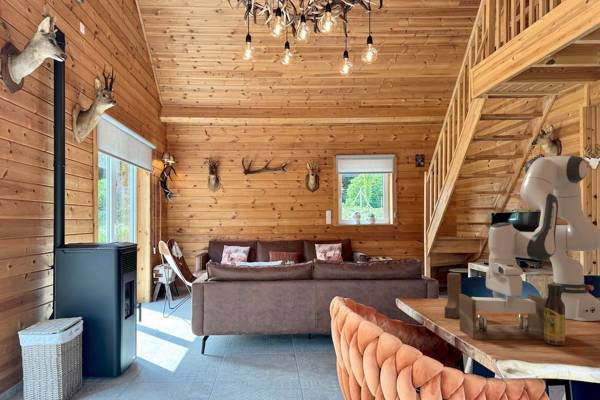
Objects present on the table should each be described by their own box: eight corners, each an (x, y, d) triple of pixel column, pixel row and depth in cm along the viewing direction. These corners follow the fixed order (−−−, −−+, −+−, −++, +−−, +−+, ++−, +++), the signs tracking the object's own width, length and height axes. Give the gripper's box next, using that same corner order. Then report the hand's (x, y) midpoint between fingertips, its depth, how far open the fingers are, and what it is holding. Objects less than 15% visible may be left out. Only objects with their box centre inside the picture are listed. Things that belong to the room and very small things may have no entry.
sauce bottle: (539, 340, 144) (538, 282, 145) (556, 340, 144) (555, 282, 145) (552, 346, 137) (551, 285, 138) (570, 346, 138) (569, 285, 139)
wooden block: (455, 319, 175) (454, 275, 176) (444, 317, 178) (443, 274, 178) (461, 315, 182) (460, 273, 183) (451, 313, 185) (450, 272, 185)
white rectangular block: (529, 309, 153) (529, 298, 154) (535, 313, 147) (535, 301, 148) (471, 307, 157) (471, 297, 157) (475, 311, 151) (475, 300, 151)
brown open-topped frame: (531, 329, 158) (530, 293, 158) (550, 339, 146) (549, 300, 146) (459, 329, 158) (459, 293, 158) (472, 339, 146) (472, 300, 146)
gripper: (481, 264, 163) (481, 299, 163) (507, 270, 143) (508, 311, 142) (497, 264, 163) (498, 299, 163) (525, 270, 143) (526, 311, 142)
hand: (502, 305), depth 152 cm, fingers closed on white rectangular block, 6 cm apart
